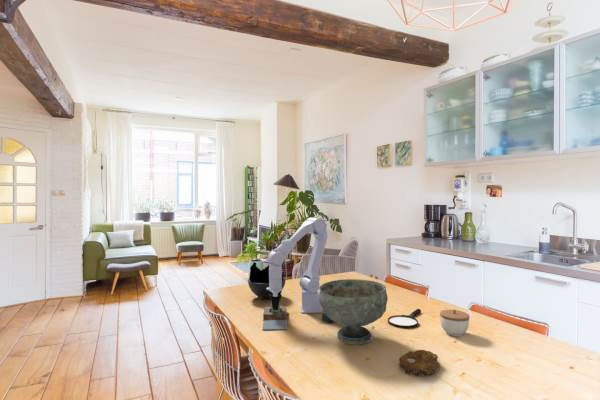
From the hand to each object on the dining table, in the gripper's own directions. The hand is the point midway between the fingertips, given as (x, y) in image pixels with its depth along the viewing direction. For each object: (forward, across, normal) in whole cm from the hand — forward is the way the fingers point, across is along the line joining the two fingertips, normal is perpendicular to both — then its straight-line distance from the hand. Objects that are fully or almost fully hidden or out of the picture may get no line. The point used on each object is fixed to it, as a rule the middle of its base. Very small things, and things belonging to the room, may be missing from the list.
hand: (275, 308), depth 161 cm
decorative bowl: (+4, +26, +30) cm, 40 cm away
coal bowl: (+4, -28, -5) cm, 29 cm away
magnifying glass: (+4, +8, +58) cm, 59 cm away
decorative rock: (+4, +50, +47) cm, 69 cm away
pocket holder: (+3, 0, 0) cm, 3 cm away
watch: (+4, +8, +24) cm, 25 cm away
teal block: (+3, 0, 0) cm, 3 cm away
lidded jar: (+4, +24, +71) cm, 75 cm away
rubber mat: (+3, +12, 0) cm, 12 cm away
